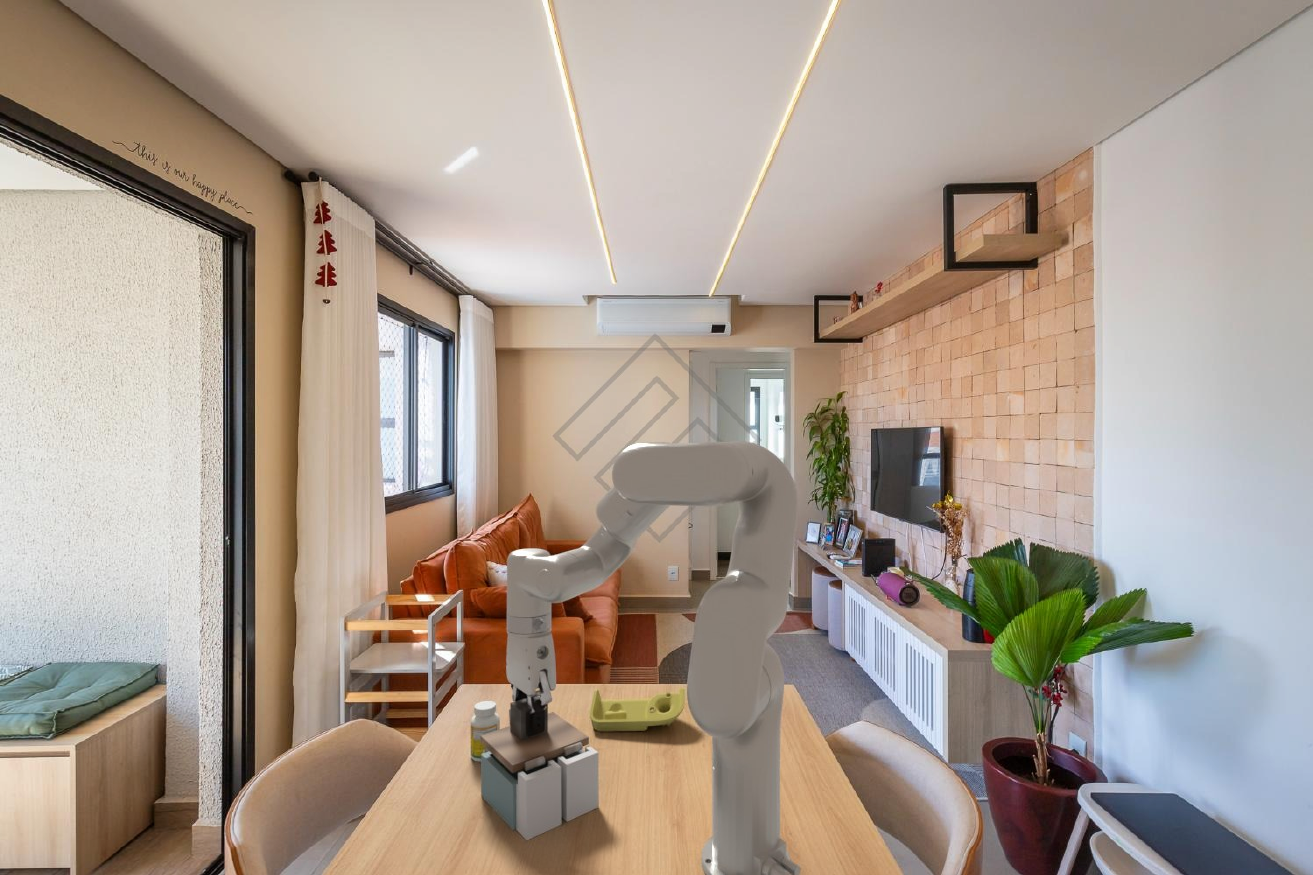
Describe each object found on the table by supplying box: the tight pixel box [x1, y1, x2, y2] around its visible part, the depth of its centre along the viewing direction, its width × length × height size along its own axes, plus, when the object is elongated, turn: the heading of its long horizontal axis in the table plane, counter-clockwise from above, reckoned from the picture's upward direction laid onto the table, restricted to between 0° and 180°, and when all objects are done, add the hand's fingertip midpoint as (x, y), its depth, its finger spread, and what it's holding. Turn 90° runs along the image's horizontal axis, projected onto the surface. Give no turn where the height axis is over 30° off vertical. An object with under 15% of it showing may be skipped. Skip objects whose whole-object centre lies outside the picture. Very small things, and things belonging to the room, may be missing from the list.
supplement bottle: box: [470, 700, 501, 763], centre depth 116 cm, size 5×5×10 cm
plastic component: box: [589, 686, 686, 732], centre depth 130 cm, size 20×7×10 cm
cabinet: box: [480, 745, 600, 841], centre depth 102 cm, size 15×14×9 cm
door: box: [480, 696, 590, 773], centre depth 103 cm, size 13×14×6 cm
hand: (528, 727), depth 105 cm, fingers closed on door, 4 cm apart
